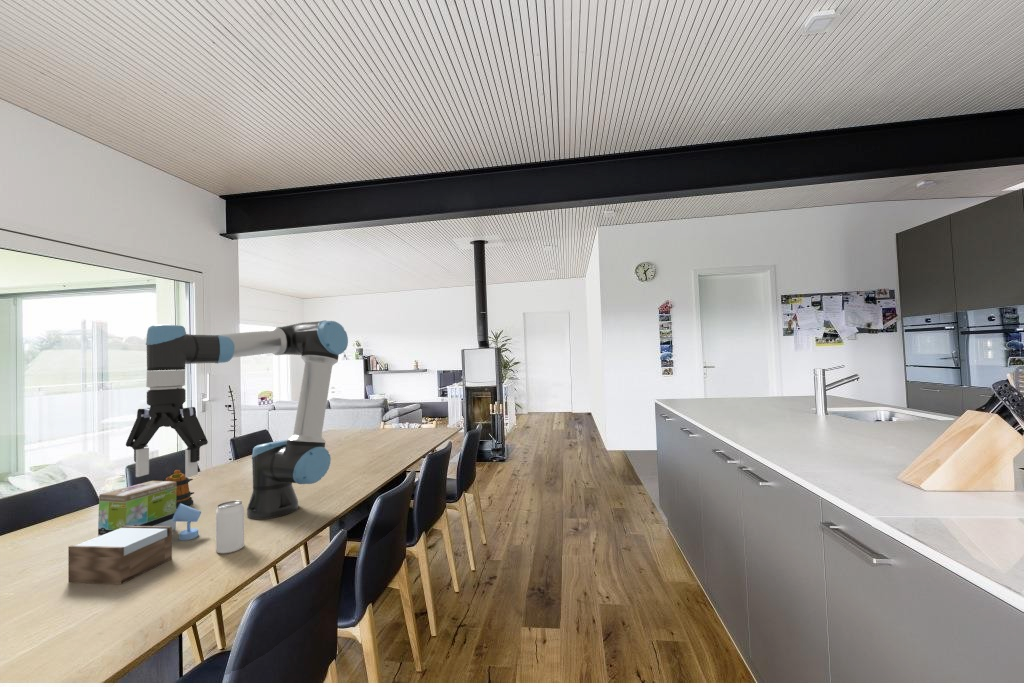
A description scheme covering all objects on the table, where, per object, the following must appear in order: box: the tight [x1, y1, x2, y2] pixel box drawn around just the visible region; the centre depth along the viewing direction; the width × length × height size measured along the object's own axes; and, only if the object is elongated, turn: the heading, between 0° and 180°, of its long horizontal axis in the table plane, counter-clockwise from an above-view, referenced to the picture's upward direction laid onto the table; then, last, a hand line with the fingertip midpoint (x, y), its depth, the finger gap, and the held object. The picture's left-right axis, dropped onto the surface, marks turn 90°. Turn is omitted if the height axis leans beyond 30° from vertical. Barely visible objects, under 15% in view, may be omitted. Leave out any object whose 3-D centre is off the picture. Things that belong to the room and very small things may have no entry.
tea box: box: [97, 480, 177, 537], centre depth 130 cm, size 15×10×15 cm, turn 168°
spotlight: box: [172, 503, 202, 541], centre depth 129 cm, size 5×10×7 cm
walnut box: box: [67, 526, 173, 585], centre depth 110 cm, size 14×13×8 cm
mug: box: [165, 469, 195, 510], centre depth 160 cm, size 13×10×12 cm
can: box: [215, 500, 245, 555], centre depth 120 cm, size 6×6×12 cm
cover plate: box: [74, 528, 167, 556], centre depth 110 cm, size 13×11×2 cm
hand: (166, 475), depth 109 cm, fingers open, 13 cm apart
